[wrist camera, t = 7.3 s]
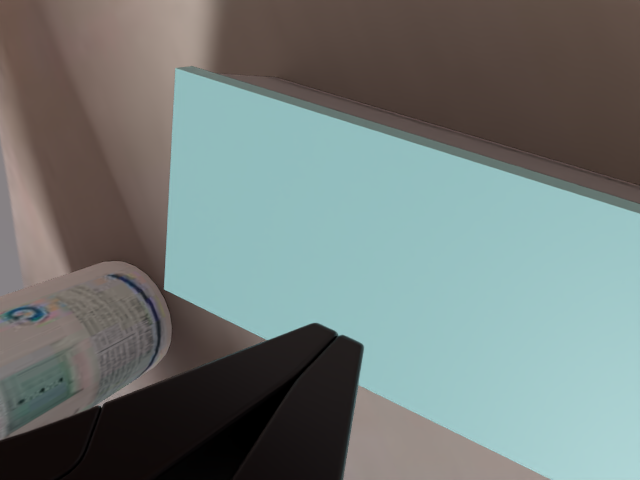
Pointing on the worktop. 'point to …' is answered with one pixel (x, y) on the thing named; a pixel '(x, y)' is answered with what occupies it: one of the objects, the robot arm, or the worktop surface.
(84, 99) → the worktop surface
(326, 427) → the robot arm
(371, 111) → the grey rectangular box
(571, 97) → the worktop surface
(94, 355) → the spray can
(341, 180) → the lid
